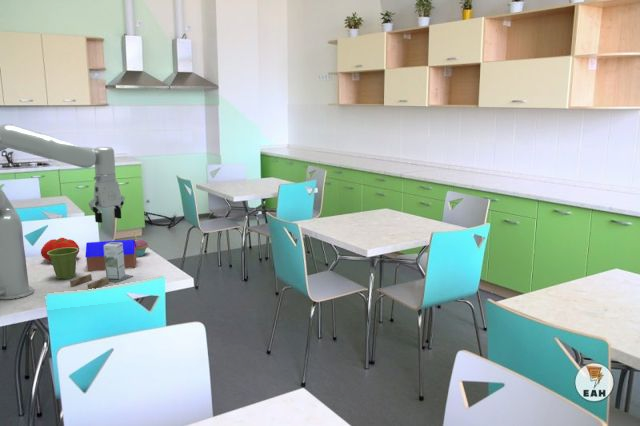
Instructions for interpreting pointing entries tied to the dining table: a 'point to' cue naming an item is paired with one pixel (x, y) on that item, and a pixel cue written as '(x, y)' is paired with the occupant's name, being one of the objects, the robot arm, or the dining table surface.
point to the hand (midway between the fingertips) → (108, 220)
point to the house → (98, 259)
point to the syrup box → (114, 260)
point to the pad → (119, 279)
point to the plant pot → (64, 261)
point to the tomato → (57, 246)
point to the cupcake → (140, 246)
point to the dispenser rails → (89, 278)
